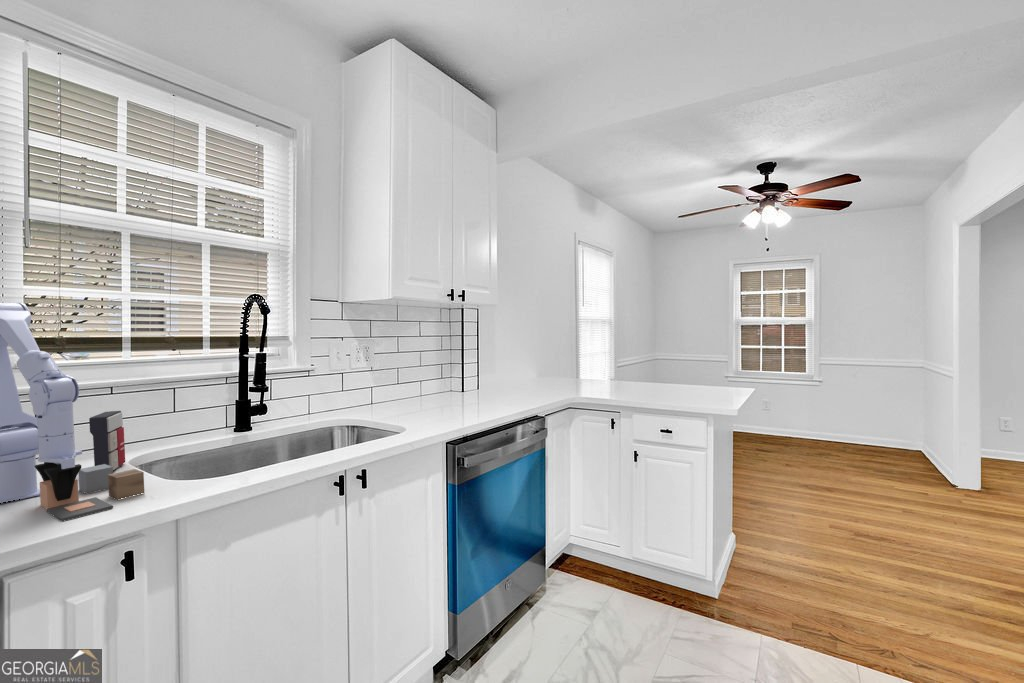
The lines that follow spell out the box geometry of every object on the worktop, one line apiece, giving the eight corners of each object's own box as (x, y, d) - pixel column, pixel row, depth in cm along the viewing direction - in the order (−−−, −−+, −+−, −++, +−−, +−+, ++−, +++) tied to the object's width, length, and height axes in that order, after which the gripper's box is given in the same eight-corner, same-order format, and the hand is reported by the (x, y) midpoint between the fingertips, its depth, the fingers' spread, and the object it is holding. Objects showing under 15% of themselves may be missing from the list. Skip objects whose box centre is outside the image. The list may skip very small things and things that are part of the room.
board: (46, 511, 102) (46, 507, 102) (95, 499, 109) (95, 496, 109) (62, 521, 96) (62, 517, 96) (112, 508, 103) (112, 504, 103)
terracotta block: (40, 505, 106) (39, 482, 106) (71, 498, 110) (70, 475, 110) (47, 509, 103) (46, 485, 103) (78, 502, 107) (77, 479, 107)
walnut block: (109, 496, 111) (107, 474, 111) (135, 490, 115) (134, 468, 115) (117, 500, 108) (116, 477, 108) (144, 493, 112) (143, 472, 112)
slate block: (79, 490, 116) (78, 469, 116) (105, 484, 120) (104, 464, 120) (86, 494, 113) (85, 472, 113) (113, 487, 117) (112, 466, 117)
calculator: (112, 473, 129) (109, 416, 129) (91, 475, 128) (88, 417, 127) (127, 463, 139) (124, 410, 139) (108, 465, 138) (105, 411, 137)
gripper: (91, 434, 106) (95, 497, 106) (69, 427, 114) (72, 486, 114) (47, 440, 100) (51, 507, 100) (27, 433, 108) (30, 495, 108)
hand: (59, 497), depth 107 cm, fingers closed on terracotta block, 5 cm apart
